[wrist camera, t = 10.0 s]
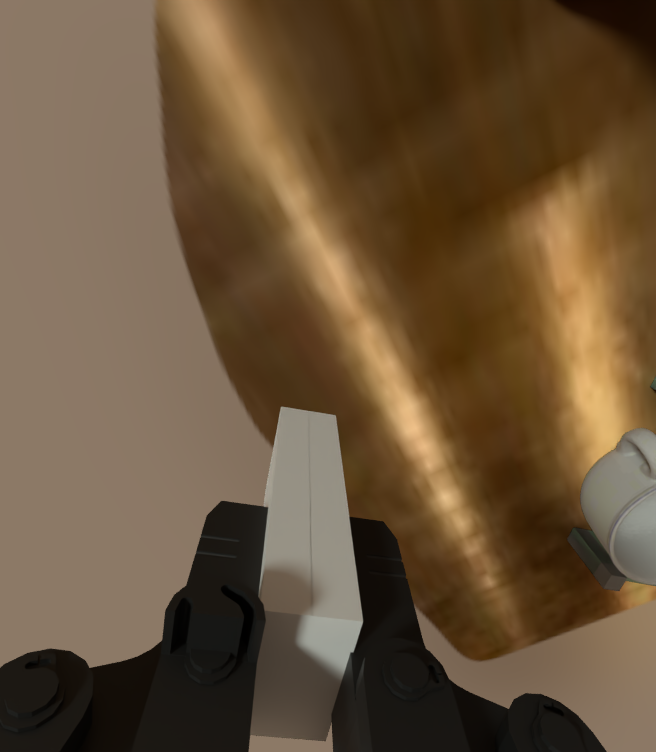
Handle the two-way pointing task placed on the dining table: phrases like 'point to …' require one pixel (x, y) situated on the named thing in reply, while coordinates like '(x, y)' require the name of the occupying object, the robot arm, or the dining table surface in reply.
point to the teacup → (625, 504)
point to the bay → (598, 555)
